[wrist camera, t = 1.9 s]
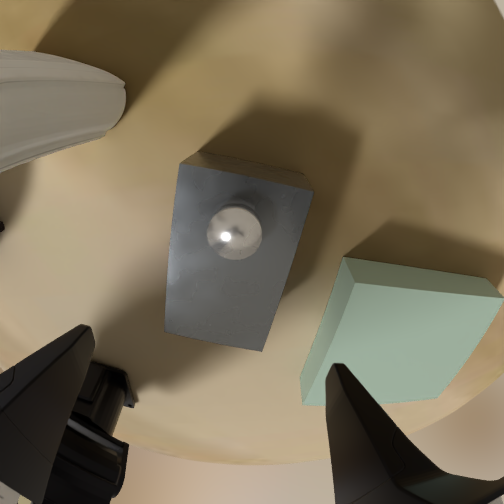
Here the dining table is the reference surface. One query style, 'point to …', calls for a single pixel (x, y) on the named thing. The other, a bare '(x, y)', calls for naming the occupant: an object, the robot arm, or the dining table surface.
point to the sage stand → (398, 330)
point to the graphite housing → (231, 247)
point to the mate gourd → (1, 226)
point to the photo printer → (53, 105)
